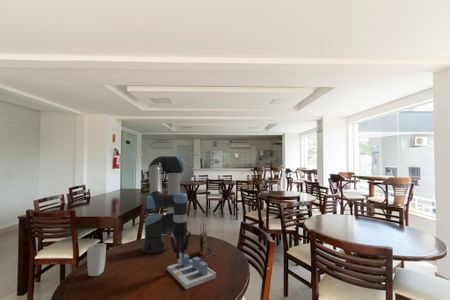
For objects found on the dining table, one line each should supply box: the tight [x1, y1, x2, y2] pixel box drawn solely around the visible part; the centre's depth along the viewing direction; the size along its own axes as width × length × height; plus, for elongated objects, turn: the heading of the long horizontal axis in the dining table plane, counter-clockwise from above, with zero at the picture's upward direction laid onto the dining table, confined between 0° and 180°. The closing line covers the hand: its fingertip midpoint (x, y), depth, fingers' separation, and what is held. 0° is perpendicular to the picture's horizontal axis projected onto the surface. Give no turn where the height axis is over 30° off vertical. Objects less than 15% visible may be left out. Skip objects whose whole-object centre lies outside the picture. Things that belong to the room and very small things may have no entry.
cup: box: [86, 243, 107, 277], centre depth 120 cm, size 7×7×15 cm
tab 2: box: [192, 256, 202, 270], centre depth 122 cm, size 4×3×5 cm
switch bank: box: [166, 259, 217, 290], centre depth 120 cm, size 23×17×3 cm
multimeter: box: [199, 222, 215, 259], centre depth 147 cm, size 15×10×20 cm
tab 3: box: [199, 260, 209, 276], centre depth 117 cm, size 4×3×5 cm
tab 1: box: [182, 253, 190, 267], centre depth 126 cm, size 4×3×5 cm
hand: (179, 264), depth 124 cm, fingers closed
